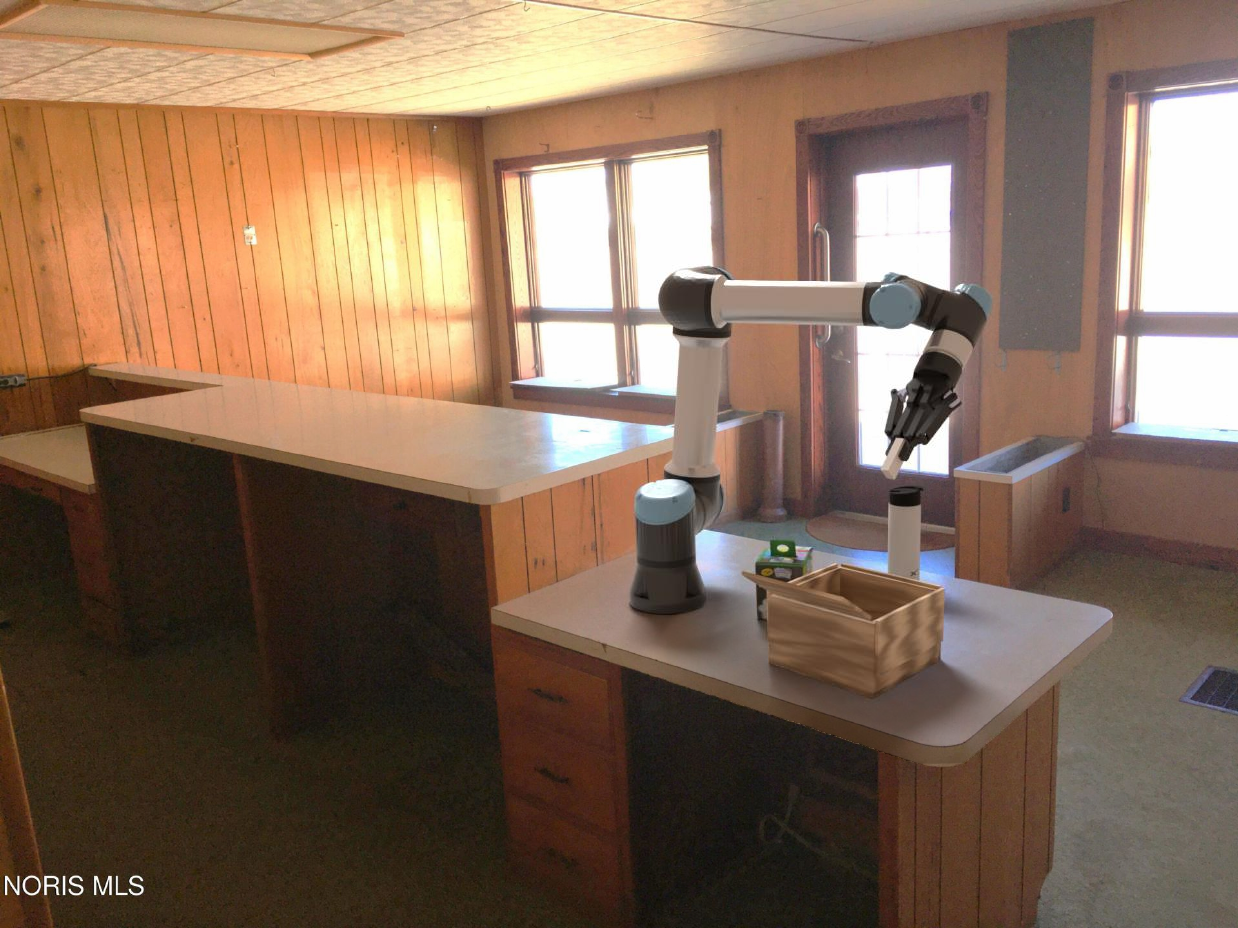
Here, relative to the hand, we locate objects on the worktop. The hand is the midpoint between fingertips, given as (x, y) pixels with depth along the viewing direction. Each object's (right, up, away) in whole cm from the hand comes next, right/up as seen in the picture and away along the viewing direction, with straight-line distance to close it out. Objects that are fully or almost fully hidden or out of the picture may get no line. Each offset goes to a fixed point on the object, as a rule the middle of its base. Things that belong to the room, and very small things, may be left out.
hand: (887, 474), depth 166 cm
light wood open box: (-6, -31, -1) cm, 32 cm away
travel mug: (+13, -23, +36) cm, 45 cm away
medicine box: (-10, -24, +36) cm, 44 cm away
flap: (-13, -20, -10) cm, 26 cm away
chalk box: (-14, -27, +22) cm, 37 cm away
